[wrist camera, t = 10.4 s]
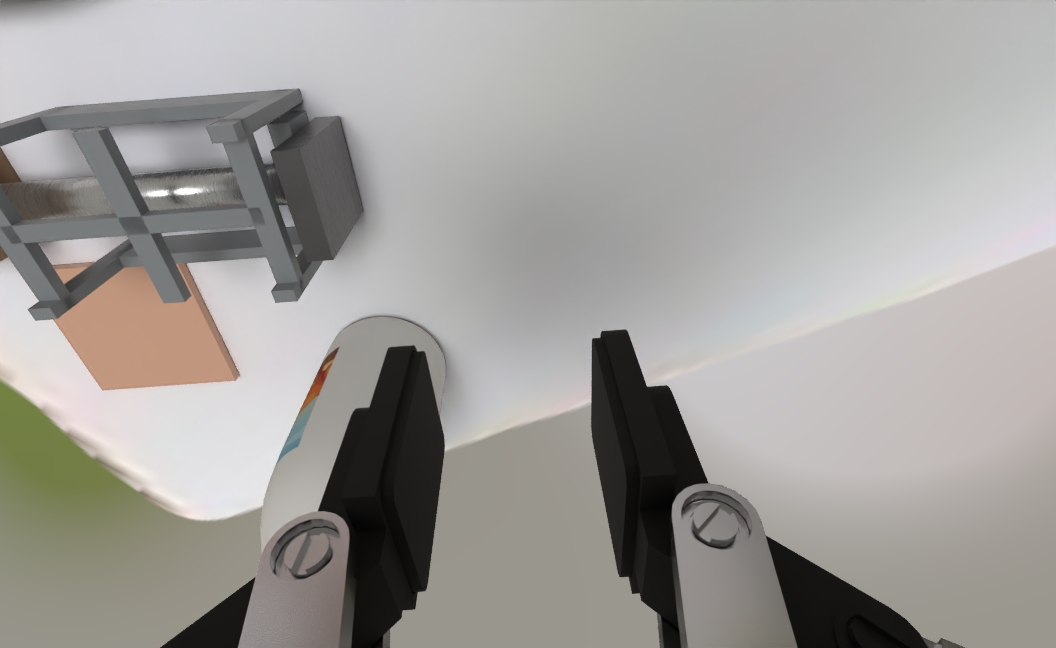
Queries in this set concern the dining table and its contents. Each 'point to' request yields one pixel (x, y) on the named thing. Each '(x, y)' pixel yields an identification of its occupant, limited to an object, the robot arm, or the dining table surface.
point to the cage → (146, 226)
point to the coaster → (144, 333)
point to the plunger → (230, 189)
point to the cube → (5, 173)
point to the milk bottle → (337, 413)
